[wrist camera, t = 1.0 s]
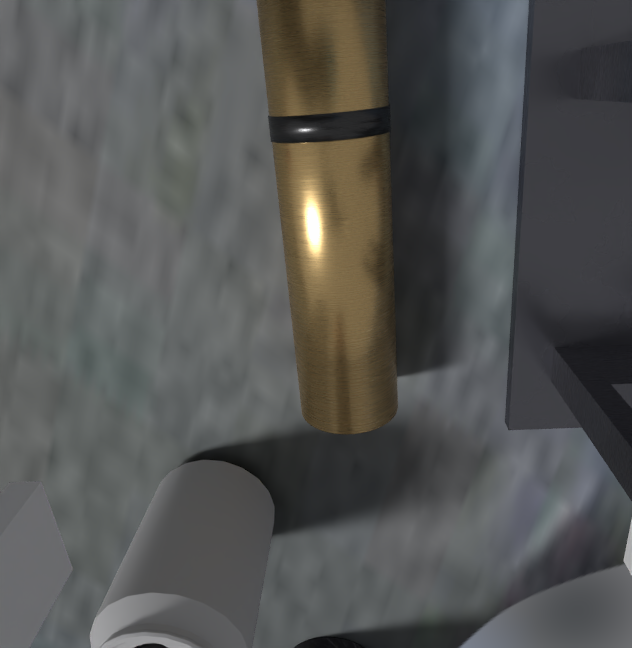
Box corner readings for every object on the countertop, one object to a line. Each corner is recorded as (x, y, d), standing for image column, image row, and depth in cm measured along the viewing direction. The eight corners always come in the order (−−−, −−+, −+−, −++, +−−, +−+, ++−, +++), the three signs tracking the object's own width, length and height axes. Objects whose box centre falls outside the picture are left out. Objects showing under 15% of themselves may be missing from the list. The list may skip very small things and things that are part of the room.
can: (216, 429, 33) (149, 600, 22) (301, 506, 35) (278, 699, 24) (135, 492, 35) (38, 676, 24) (219, 561, 37) (164, 761, 26)
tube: (266, -25, 24) (235, -49, 19) (386, -40, 23) (383, -69, 18) (308, 382, 32) (293, 434, 27) (398, 382, 31) (398, 435, 26)
